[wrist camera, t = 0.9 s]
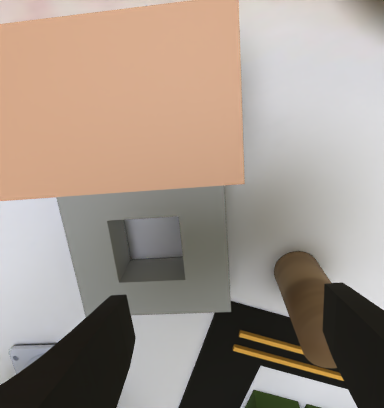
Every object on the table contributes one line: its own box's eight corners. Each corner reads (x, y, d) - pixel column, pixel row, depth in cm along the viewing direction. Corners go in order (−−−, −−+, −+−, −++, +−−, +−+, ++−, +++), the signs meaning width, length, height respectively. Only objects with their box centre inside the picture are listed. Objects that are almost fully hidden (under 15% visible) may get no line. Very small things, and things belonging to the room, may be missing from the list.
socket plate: (228, 285, 22) (231, 311, 20) (101, 290, 23) (85, 316, 20) (217, 88, 18) (218, 85, 15) (59, 103, 19) (33, 103, 16)
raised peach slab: (228, 145, 19) (244, 184, 10) (64, 158, 20) (-55, 204, 11) (223, 50, 17) (238, -8, 8) (44, 69, 18) (-118, 36, 9)
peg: (317, 288, 22) (363, 367, 15) (274, 290, 22) (300, 368, 16) (319, 250, 21) (369, 317, 14) (274, 252, 21) (302, 319, 15)
